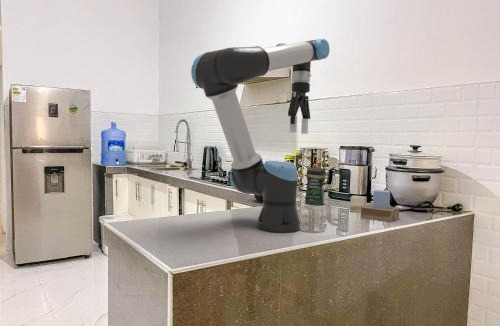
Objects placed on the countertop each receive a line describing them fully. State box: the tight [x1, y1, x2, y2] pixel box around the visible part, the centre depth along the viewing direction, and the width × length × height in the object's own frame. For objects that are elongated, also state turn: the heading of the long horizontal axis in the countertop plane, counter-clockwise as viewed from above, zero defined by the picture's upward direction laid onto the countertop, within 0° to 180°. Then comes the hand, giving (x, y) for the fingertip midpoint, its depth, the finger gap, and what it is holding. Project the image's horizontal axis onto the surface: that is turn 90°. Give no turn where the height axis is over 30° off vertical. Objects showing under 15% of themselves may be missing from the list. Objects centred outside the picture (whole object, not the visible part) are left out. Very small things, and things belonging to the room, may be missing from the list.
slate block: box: [372, 189, 391, 209], centre depth 164 cm, size 6×6×7 cm
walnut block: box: [360, 204, 400, 223], centre depth 164 cm, size 12×12×5 cm
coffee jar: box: [304, 167, 327, 206], centre depth 199 cm, size 10×8×19 cm
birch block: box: [349, 195, 368, 214], centre depth 179 cm, size 6×6×7 cm
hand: (298, 133), depth 165 cm, fingers open, 13 cm apart
